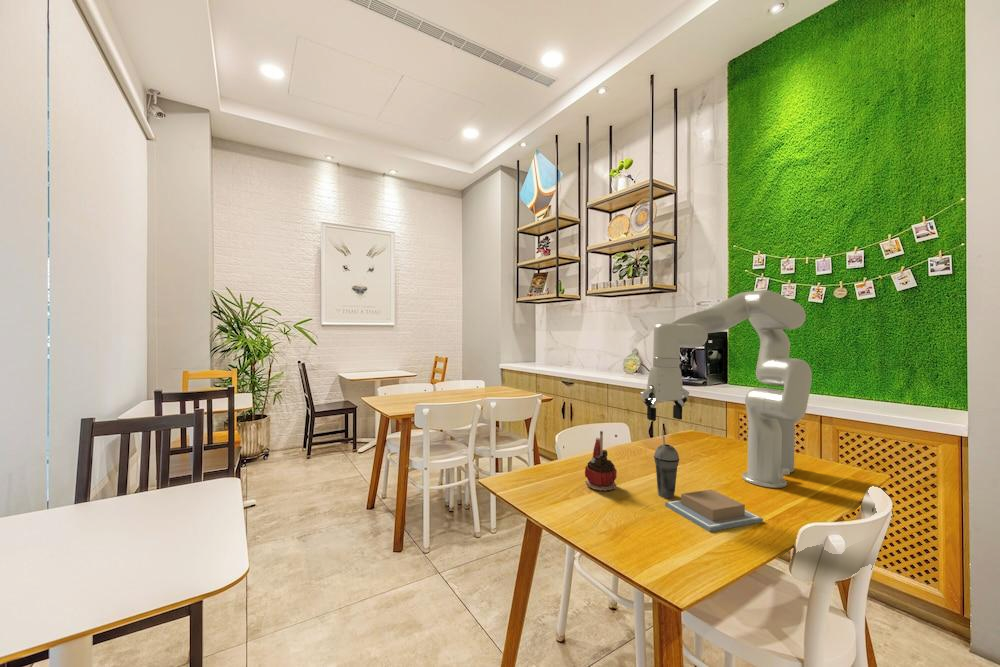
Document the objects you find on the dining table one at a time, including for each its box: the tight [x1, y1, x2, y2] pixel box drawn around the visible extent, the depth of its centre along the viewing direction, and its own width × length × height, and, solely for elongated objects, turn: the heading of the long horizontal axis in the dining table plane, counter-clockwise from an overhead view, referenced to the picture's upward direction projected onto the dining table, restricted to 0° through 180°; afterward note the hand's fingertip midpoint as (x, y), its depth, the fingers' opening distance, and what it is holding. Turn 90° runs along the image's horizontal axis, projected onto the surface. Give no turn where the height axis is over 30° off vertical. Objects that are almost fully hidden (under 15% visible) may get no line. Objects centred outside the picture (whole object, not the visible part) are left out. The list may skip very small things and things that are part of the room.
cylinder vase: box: [777, 419, 796, 473], centre depth 150 cm, size 12×12×25 cm
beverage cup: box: [653, 430, 680, 499], centre depth 124 cm, size 7×7×20 cm
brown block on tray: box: [664, 489, 764, 533], centre depth 112 cm, size 18×16×4 cm
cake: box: [584, 430, 618, 491], centre depth 131 cm, size 11×9×18 cm
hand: (664, 419), depth 124 cm, fingers open, 9 cm apart
